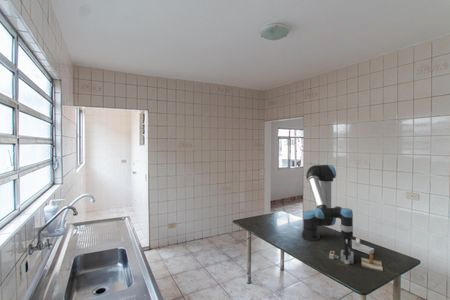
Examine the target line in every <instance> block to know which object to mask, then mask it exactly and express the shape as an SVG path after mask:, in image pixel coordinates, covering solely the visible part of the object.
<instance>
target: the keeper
mask: <svg viewBox="0 0 450 300" xmlns="http://www.w3.org/2000/svg"><path fill="white" fill-rule="evenodd" d="M368 255H369V257H368V258H366V257H360V258H361V267H362V268H366V269H371V270H375V271H379V272H380V271H381V272H383V268H384V267H383V264H382V260H378V259H374V257H375V256H374V253H373V254H368Z"/></svg>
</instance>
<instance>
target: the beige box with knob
mask: <svg viewBox="0 0 450 300" xmlns="http://www.w3.org/2000/svg"><path fill="white" fill-rule="evenodd" d="M335 253H336V251H334V250H333V251H332V250H330V251H329V254H328V257H329V259H331V260H334V259H335V258H334V255H336V254H335Z"/></svg>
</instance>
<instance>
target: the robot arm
mask: <svg viewBox="0 0 450 300" xmlns="http://www.w3.org/2000/svg"><path fill="white" fill-rule="evenodd" d="M336 176H337V171H336V168H335V166H334V165H332V164H314V165H312V166H310V167H309V168H308V170H307V171H306V180H307V182H308V183H309V186H310V190H311V193H312V197H313V201H314V203H315V208H314V210H313V209H311V210H306V211H304V212H303V216H302V219H303V221H302V222H303V223H302V225H303V229H302V231H301V238H302V239H303V240H306V241H307V242H308V241H310V242H316V241H319V240H320V233H319V231H318V227H330V226H334V225H335V224H336V220H337V219H340V225H339V226H340V229H341V230H340V235H341V236H342V237H343V245H344V250H345V254H344V255H345V262H344V265H350V263H349V251H351V250H350V248H351V245H350V244H351V243H350V242H351V238H353V236H354V227H353V226H354V224H353V223H354V222H353V221H354V214H353V209H351V208H349V207H341V206H337V205H335V206H334V207H332V182H333V181H334V179H336V178H337V177H336Z"/></svg>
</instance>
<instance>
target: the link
mask: <svg viewBox="0 0 450 300" xmlns="http://www.w3.org/2000/svg"><path fill="white" fill-rule="evenodd" d="M344 254H345V249H341V250H340V262H343V263H345V255H344ZM354 257H355V256H354V251H351V250H350V251H349V264H354V260H355V259H354Z"/></svg>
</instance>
